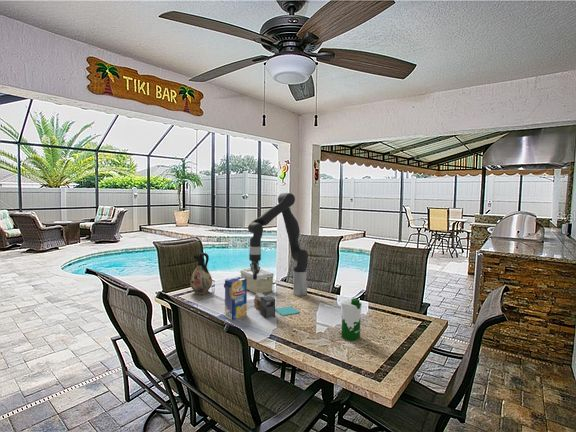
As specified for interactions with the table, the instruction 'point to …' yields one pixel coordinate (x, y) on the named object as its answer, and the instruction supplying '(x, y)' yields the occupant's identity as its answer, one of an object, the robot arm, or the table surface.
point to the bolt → (259, 295)
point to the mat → (286, 310)
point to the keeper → (267, 307)
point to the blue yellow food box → (235, 298)
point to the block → (257, 304)
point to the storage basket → (258, 280)
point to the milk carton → (351, 319)
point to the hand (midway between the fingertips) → (254, 279)
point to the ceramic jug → (201, 275)
